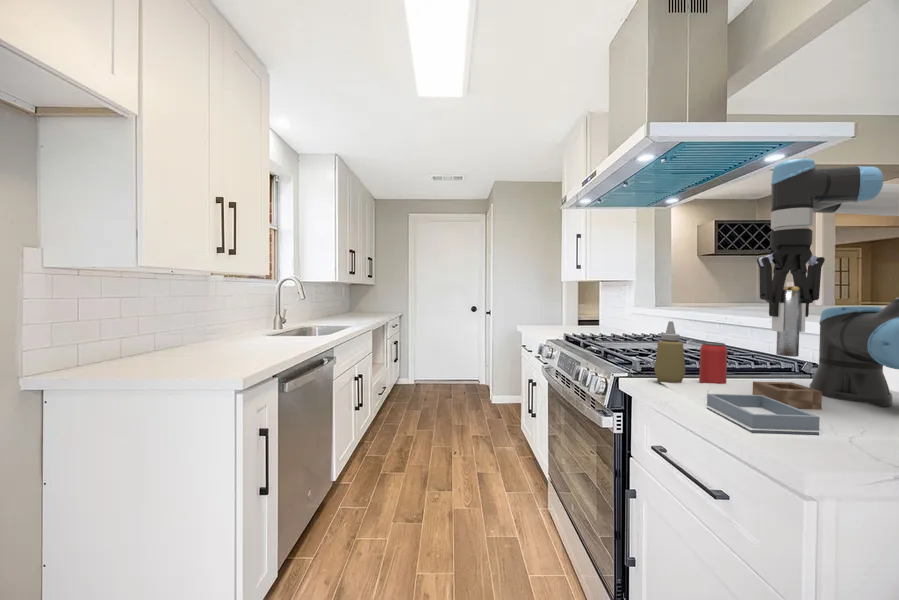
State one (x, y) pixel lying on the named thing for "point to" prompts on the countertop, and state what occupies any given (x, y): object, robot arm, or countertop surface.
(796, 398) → the block
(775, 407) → the tray
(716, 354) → the beer can
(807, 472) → the countertop surface
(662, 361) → the squeeze bottle
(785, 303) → the steel pin
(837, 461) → the countertop surface
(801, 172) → the robot arm
